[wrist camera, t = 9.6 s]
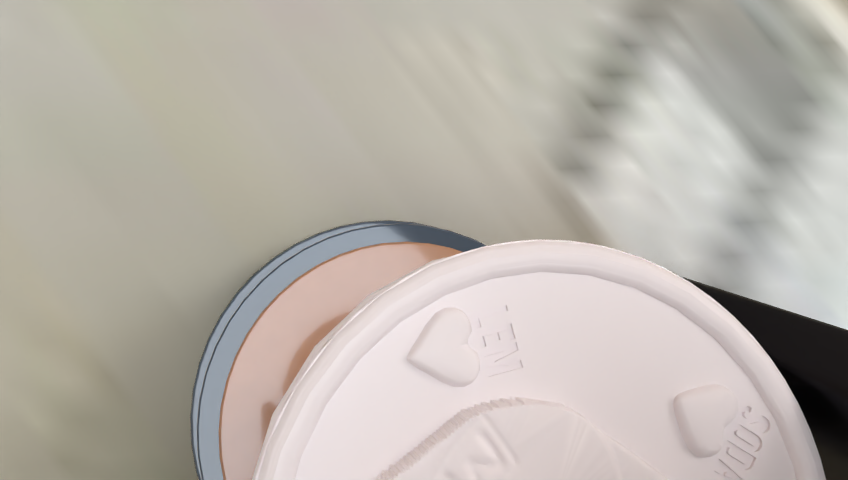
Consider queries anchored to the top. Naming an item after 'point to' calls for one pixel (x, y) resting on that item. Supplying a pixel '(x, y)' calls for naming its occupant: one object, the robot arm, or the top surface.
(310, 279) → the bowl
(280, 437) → the smoothie
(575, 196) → the top surface
